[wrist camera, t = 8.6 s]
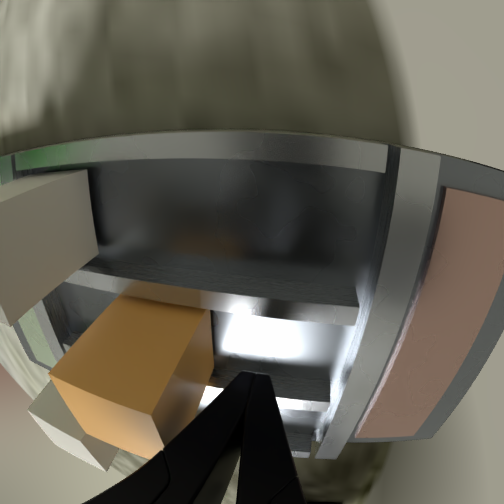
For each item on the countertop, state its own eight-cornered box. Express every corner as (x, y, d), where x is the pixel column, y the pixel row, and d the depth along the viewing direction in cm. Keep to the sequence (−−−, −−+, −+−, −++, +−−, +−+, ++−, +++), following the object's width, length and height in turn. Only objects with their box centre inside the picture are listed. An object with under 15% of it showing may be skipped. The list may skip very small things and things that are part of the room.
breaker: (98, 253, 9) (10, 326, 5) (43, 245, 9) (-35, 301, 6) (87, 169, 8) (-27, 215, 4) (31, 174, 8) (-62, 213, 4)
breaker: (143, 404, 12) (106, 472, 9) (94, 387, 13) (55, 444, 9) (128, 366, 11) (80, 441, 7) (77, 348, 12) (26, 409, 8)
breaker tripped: (214, 367, 10) (174, 467, 6) (140, 350, 10) (86, 433, 7) (209, 303, 9) (151, 415, 5) (125, 289, 9) (47, 373, 6)
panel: (427, 420, 12) (434, 453, 10) (39, 349, 15) (21, 369, 13) (530, 180, 6) (568, 198, 4) (-14, 159, 10) (-45, 170, 8)
